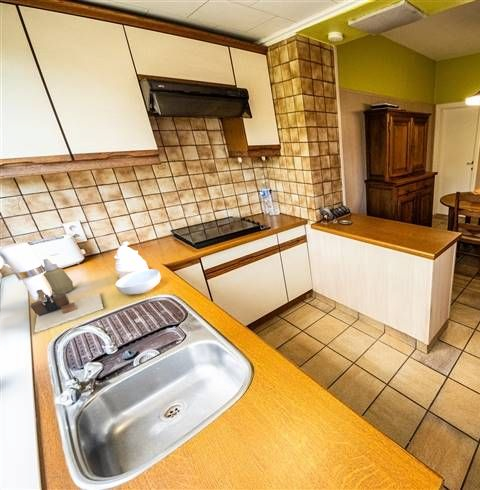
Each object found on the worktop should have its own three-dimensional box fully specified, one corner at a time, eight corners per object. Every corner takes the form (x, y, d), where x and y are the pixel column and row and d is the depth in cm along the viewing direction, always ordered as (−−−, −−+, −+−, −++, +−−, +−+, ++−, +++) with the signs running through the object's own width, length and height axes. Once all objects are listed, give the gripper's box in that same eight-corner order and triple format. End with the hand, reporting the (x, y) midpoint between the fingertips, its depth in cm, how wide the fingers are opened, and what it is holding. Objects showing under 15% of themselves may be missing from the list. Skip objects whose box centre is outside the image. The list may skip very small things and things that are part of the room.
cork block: (63, 314, 113) (61, 310, 112) (63, 310, 115) (61, 306, 114) (76, 309, 115) (74, 305, 114) (76, 306, 118) (74, 302, 117)
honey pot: (141, 266, 154) (128, 237, 147) (153, 270, 149) (141, 240, 142) (114, 276, 144) (99, 246, 137) (126, 281, 138) (111, 250, 131)
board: (35, 333, 104) (34, 331, 103) (38, 315, 114) (37, 313, 114) (103, 308, 117) (102, 306, 116) (100, 294, 128) (99, 292, 127)
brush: (37, 317, 111) (30, 306, 109) (38, 313, 114) (31, 303, 111) (71, 305, 118) (65, 295, 116) (71, 303, 120) (65, 292, 118)
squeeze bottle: (48, 295, 129) (28, 262, 122) (69, 286, 136) (51, 255, 129) (59, 297, 127) (38, 264, 120) (79, 288, 134) (61, 256, 127)
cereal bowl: (112, 297, 125) (106, 284, 122) (148, 279, 139) (143, 267, 137) (138, 302, 120) (131, 288, 117) (172, 283, 135) (167, 270, 132)
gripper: (18, 269, 111) (42, 305, 118) (13, 282, 100) (40, 321, 108) (45, 263, 116) (66, 297, 123) (43, 274, 105) (66, 312, 113)
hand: (53, 308), depth 115 cm, fingers closed on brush, 3 cm apart
